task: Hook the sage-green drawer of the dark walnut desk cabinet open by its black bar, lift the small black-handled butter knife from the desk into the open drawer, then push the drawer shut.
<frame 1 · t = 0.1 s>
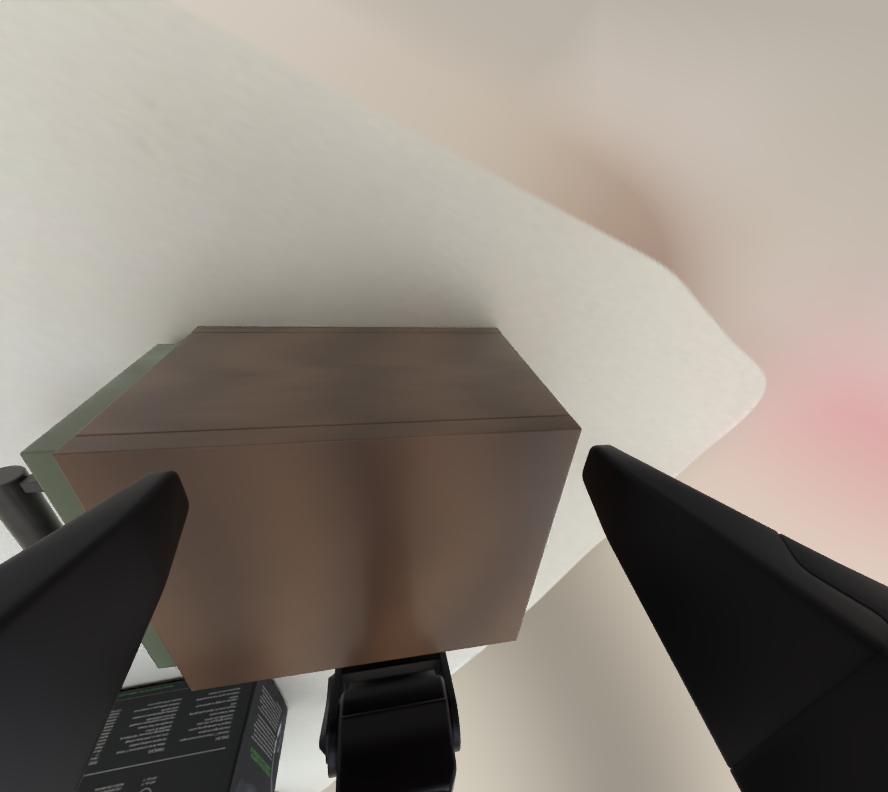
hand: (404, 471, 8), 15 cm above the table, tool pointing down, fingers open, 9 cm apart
cabinet: (363, 431, 25), on the table
drawer: (262, 495, 20), point 5 cm above the table, slide at 0.5 cm
headset box: (165, 707, 38), on the table
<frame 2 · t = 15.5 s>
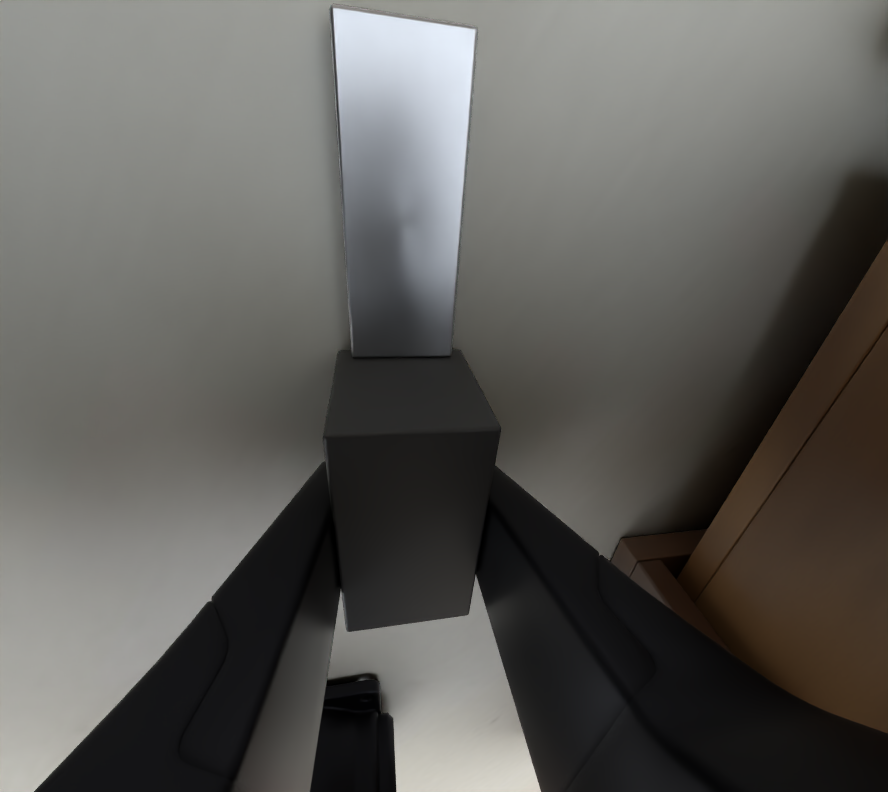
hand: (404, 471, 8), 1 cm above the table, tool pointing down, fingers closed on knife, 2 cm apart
cabinet: (702, 636, 18), on the table
knife: (401, 348, 8), on the table, touching gripper
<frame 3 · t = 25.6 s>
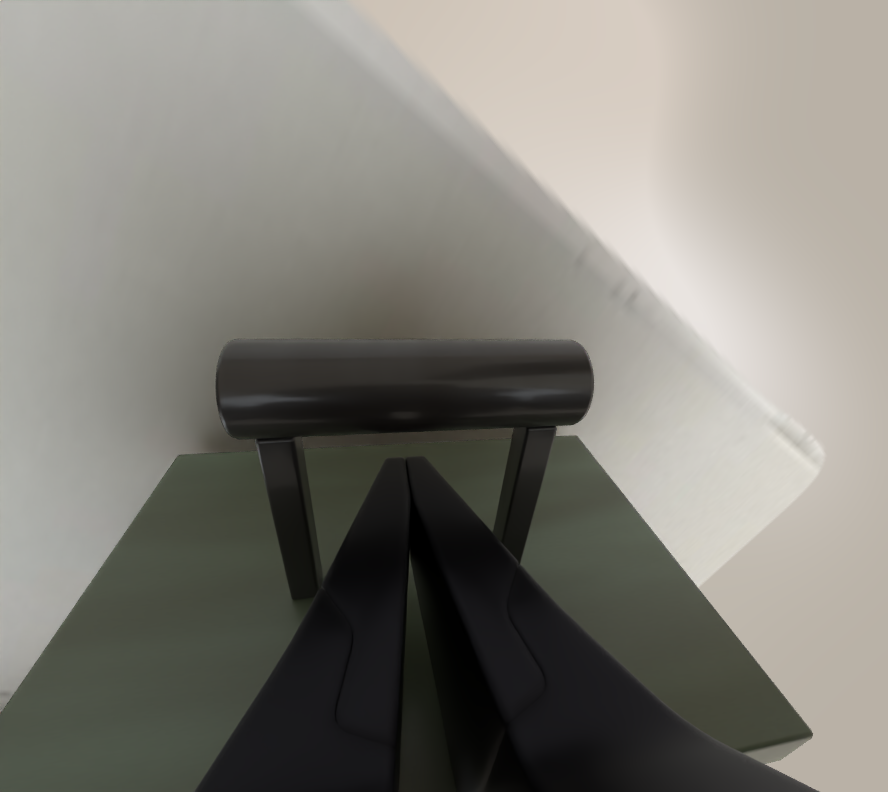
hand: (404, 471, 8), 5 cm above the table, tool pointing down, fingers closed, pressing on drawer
drawer: (404, 657, 11), point 5 cm above the table, slide at 9.0 cm, touching gripper, knife
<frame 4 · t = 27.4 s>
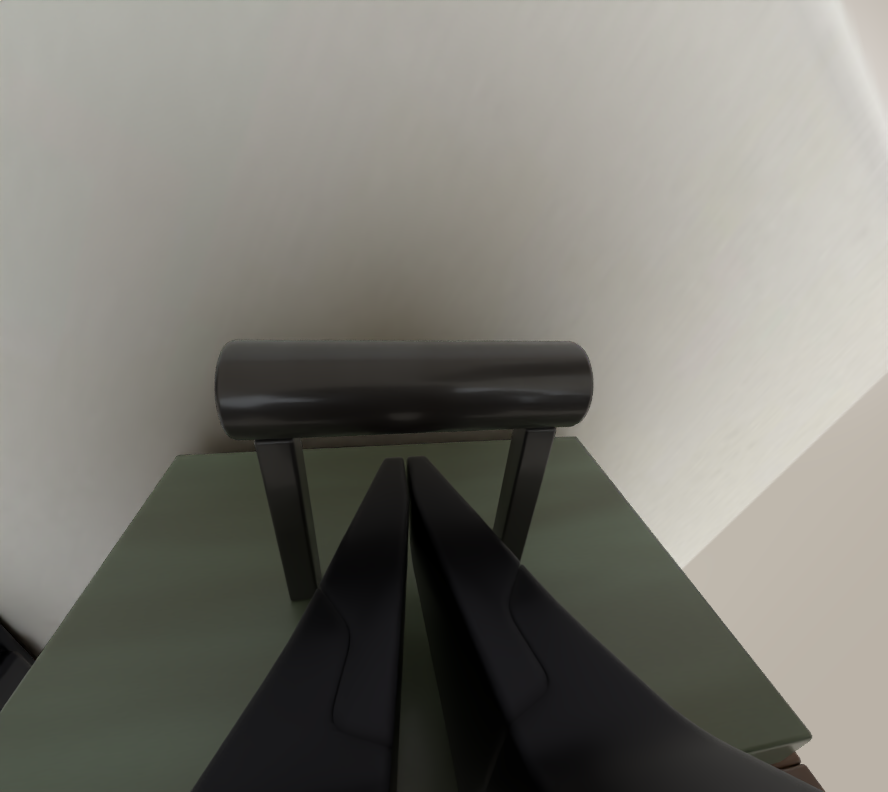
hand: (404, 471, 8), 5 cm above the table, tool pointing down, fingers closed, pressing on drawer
cabinet: (393, 587, 18), on the table
drawer: (403, 658, 11), point 5 cm above the table, slide at 0.1 cm, touching gripper, knife
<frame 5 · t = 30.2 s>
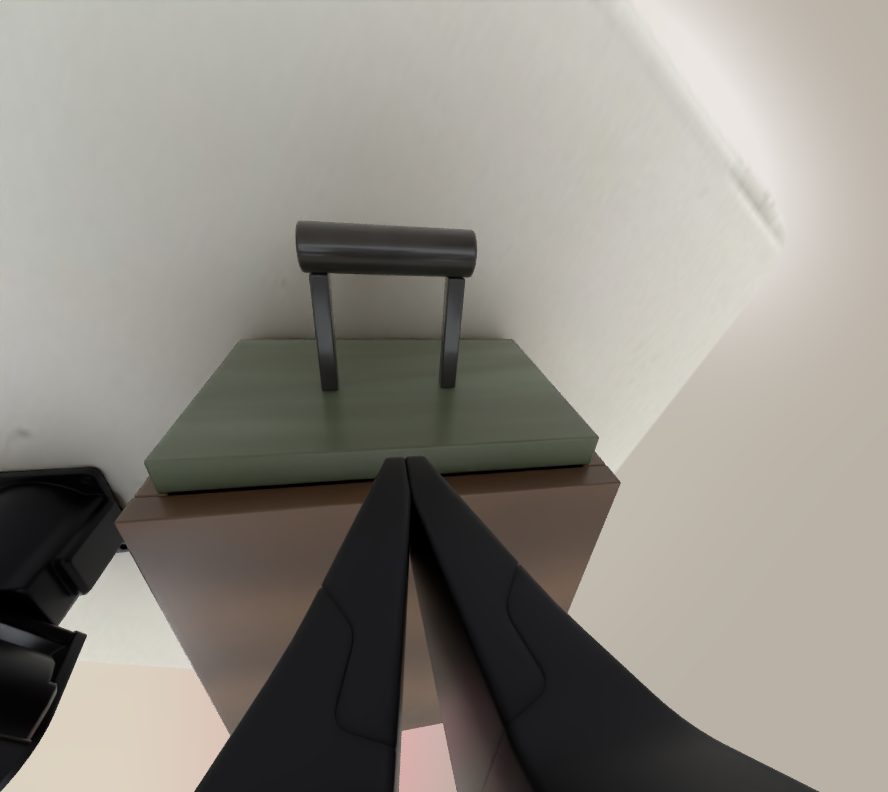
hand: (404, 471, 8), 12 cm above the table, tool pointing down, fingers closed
cabinet: (386, 470, 24), on the table
drawer: (390, 472, 17), point 5 cm above the table, slide at 0.0 cm, touching cabinet, knife
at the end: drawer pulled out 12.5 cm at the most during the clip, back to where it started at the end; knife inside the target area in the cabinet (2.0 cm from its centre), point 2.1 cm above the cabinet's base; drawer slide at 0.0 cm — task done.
